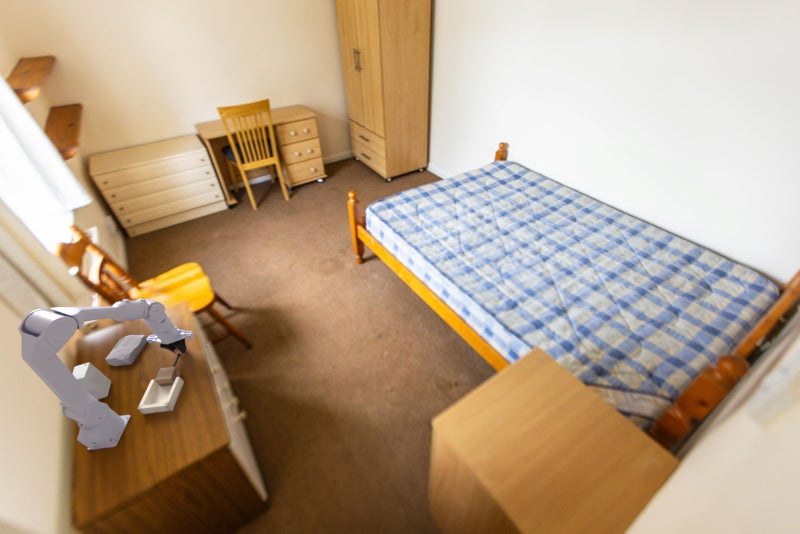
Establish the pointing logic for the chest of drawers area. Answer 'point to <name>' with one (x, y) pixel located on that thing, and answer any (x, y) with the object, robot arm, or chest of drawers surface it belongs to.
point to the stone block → (126, 350)
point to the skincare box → (92, 380)
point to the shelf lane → (160, 397)
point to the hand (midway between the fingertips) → (181, 351)
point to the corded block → (169, 372)
